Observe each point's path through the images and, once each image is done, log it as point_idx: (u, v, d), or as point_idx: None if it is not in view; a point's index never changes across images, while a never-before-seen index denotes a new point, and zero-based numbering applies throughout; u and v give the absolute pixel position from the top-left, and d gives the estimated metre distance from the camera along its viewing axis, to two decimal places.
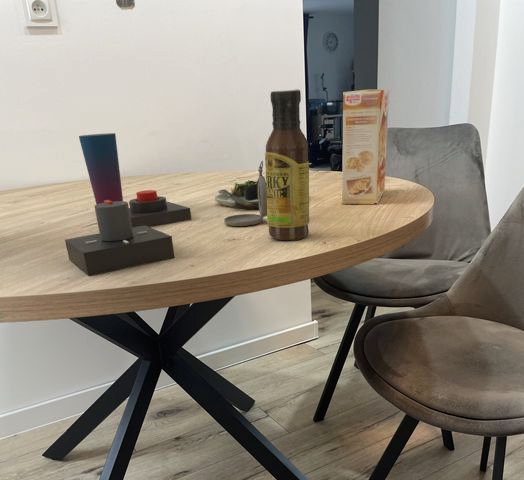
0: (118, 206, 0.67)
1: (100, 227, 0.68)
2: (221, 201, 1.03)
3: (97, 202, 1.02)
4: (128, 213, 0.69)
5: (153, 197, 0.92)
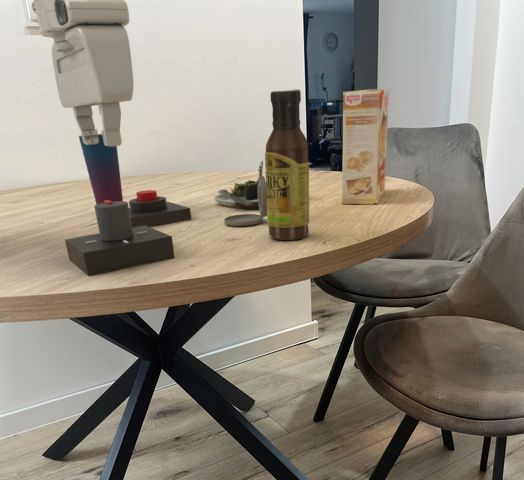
0: (118, 206, 0.67)
1: (100, 227, 0.68)
2: (221, 201, 1.03)
3: (97, 202, 1.02)
4: (128, 213, 0.69)
5: (153, 197, 0.92)
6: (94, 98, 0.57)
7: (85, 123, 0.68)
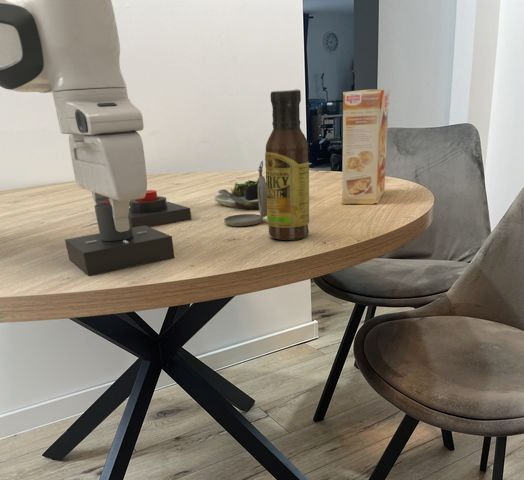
0: None
1: (100, 227, 0.68)
2: (221, 201, 1.03)
3: None
4: None
5: (153, 197, 0.92)
6: (110, 195, 0.62)
7: None
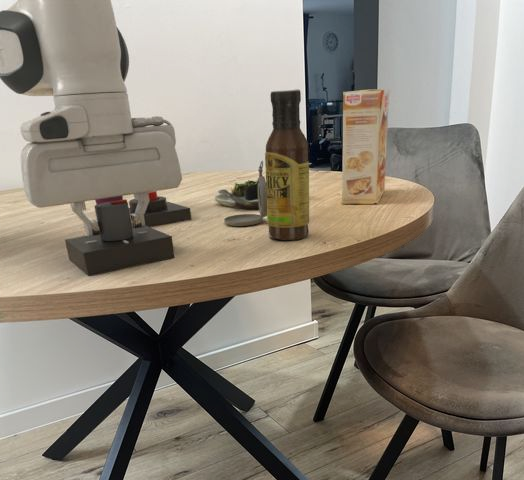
0: (96, 207, 0.67)
1: None
2: (221, 201, 1.03)
3: (97, 202, 1.02)
4: (105, 217, 0.67)
5: (153, 197, 0.92)
6: None
7: (138, 207, 0.71)
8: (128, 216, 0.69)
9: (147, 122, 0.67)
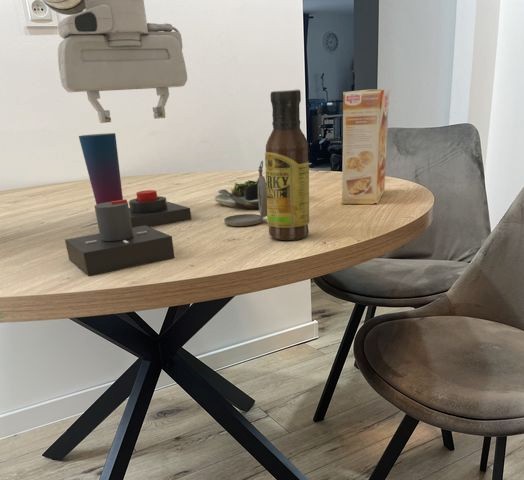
0: (96, 207, 0.67)
1: None
2: (221, 201, 1.03)
3: (97, 202, 1.02)
4: (105, 217, 0.67)
5: (153, 197, 0.92)
6: None
7: (160, 101, 0.87)
8: (128, 216, 0.69)
9: (159, 27, 0.82)
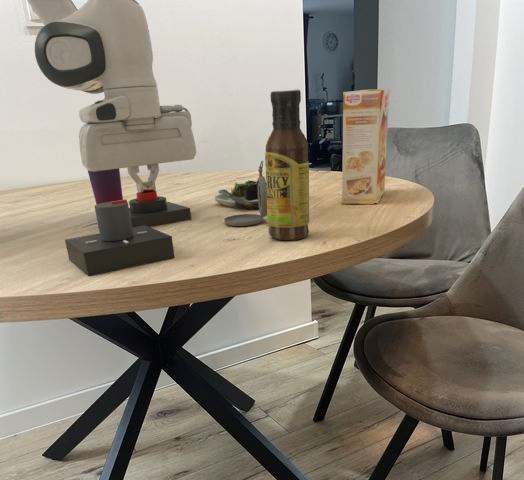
0: (96, 207, 0.67)
1: None
2: (221, 201, 1.03)
3: (97, 202, 1.02)
4: (105, 217, 0.67)
5: (153, 198, 0.92)
6: None
7: (150, 175, 0.92)
8: (128, 216, 0.69)
9: (171, 109, 0.90)
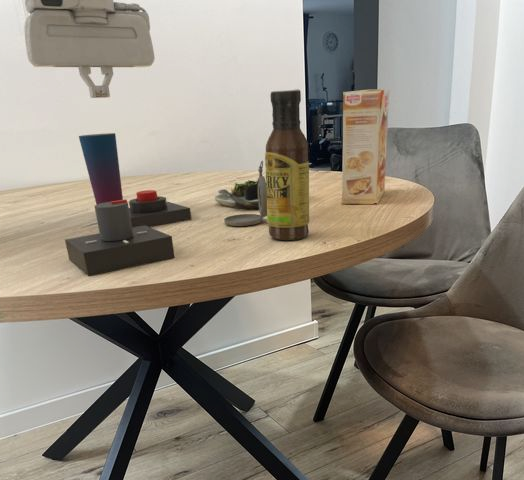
0: (96, 207, 0.67)
1: None
2: (221, 201, 1.03)
3: (97, 202, 1.02)
4: (105, 217, 0.67)
5: (153, 197, 0.92)
6: None
7: (104, 80, 0.86)
8: (128, 216, 0.69)
9: (126, 7, 0.84)
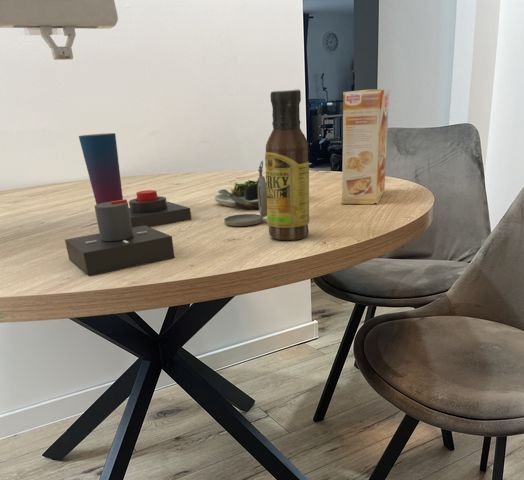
0: (96, 207, 0.67)
1: None
2: (221, 201, 1.03)
3: (97, 202, 1.02)
4: (105, 217, 0.67)
5: (153, 197, 0.92)
6: None
7: (67, 41, 0.85)
8: (128, 216, 0.69)
9: None
